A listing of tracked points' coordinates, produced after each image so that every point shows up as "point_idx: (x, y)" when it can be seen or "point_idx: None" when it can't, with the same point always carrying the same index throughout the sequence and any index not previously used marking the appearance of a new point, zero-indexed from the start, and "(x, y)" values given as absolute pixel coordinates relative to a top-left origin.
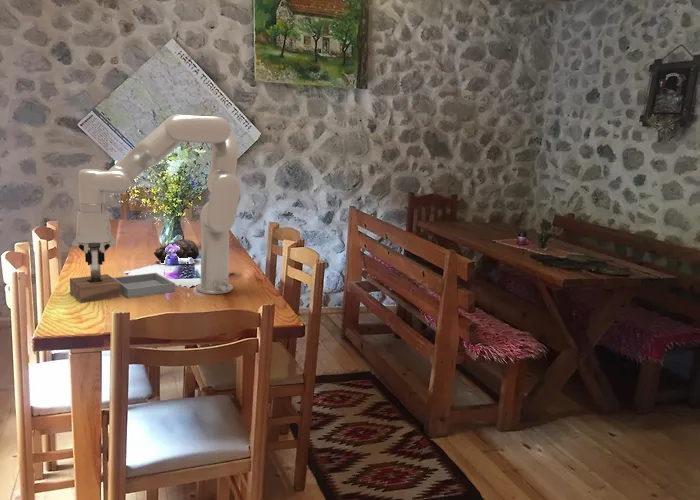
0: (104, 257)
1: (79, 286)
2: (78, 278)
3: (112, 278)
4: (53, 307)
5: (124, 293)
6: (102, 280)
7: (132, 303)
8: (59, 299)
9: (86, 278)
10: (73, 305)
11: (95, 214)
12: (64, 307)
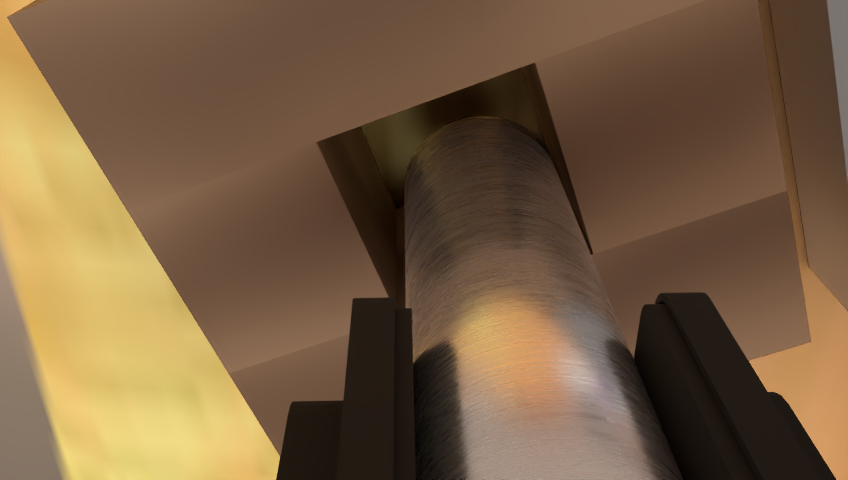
0: (808, 449)
1: (278, 452)
2: (170, 37)
3: (757, 99)
4: (83, 460)
5: (804, 173)
6: (583, 207)
7: (803, 425)
8: (52, 228)
9: (314, 51)
10: (256, 427)
11: None
12: (186, 468)
